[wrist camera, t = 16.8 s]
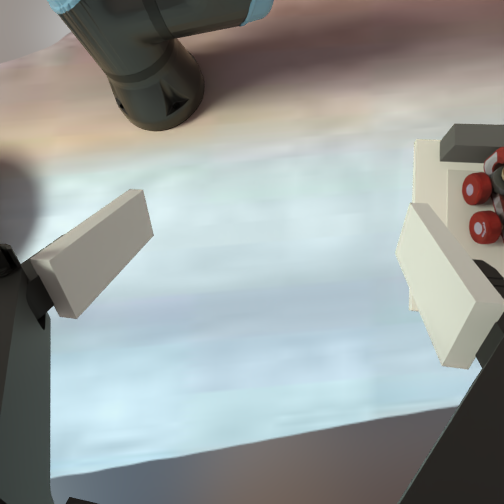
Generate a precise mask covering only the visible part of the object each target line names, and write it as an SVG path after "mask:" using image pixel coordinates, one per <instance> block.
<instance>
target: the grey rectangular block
mask: <svg viewBox="0 0 504 504" xmlns="http://www.w3.org/2000/svg"><path fill="white" fill-rule="evenodd" d="M500 147H504V125H486V124H454V125H453V126H452V128H451V129H450V130H449V131H448V133H447V134H446V135H445V136H444V137H443V139H442V140H441V141H440V161H441V162H463V163H484V162H485V160H486V159H487V158H488V157H489V156H491V155H492V154H493V153H494V152H495V151H496V150H497V149H499V148H500Z"/></svg>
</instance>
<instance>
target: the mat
mask: <svg viewBox="0 0 504 504" xmlns="http://www.w3.org/2000/svg"><path fill="white" fill-rule="evenodd" d="M440 141H441V140H426V139H417V140H416V141H415V143H414V162H413V194H412V203H428V204H429V205H430V207H431V208H432V209H433V211H434V212H435V213H436V214H437V216H438V217H439V218H440V219H441V221H442V222H443V223H444V224H445V226H446V227H447V228H448V229H449V231H450V232H451V233H452V235H453V236H454V237H455V238H456V240H457V241H458V242H459V243H460V245H461V246H462V247H463V248H464V250H465V251H466V252H467V254H468V255H469V256H470V257H471V259H476V260H483V261H485V262H486V263H488V264H489V265H491V266H492V267H494V268H495V269H496V270H497V271H498V272H499V273H500V274H501V275H502V277H503V278H504V242H503V239H502V236H501V235H500V237H499V239H498V240H497V241H496V242H495V243H492V244H478V243H476V242H475V241H474V240H473V239H472V237H471V235H470V231H469V222H470V219H471V217H472V216H473V214H474V213H476V212H478V211H486V210H491V211H493V212H495V210H494V206H493V202H492V199H491V197H490V198H489V199H488V201H487V202H485V203H484V204H480V205H469V204H467V203H466V202H465V200H464V198H463V195H462V185H463V182H464V180H465V178H466V177H467V176H468V175H469V174H472V173H478V172H484V168H483V166H484V163H463V162H441V161H440ZM409 310H411V311H418V312H419V310H418V307H417V305H416V303H415V300H414V298H413V295H412V293H411V291H410V289H409Z"/></svg>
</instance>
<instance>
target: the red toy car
mask: <svg viewBox="0 0 504 504" xmlns="http://www.w3.org/2000/svg"><path fill="white" fill-rule="evenodd" d="M483 168H484V172H478V173H472V174H469V175H468V176H467V177H466V178H465V180H464V182H463V185H462V195H463V198H464V200H465V202H466V203H467V204H469V205H480V204H484V203H485V202H487V201H488V199H489V198H490V197H491V199H492V202H493V206H494V210H495V212H493V211H491V210H486V211H478V212H476V213H474V214H473V216H472V217H471V219H470V222H469V231H470V235H471V237H472V239H473V240H474V241H475V242H476V243H478V244H492V243H495V242H496V241H497V240H498V239H499V237H500V235H501V236H502V239H503V242H504V147H500V148H499V149H497V150H496V151H495V152H494V153H493V154H492V155H491V156H489V157H488V158H487V159H486V160H485V162H484V166H483Z"/></svg>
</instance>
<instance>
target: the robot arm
mask: <svg viewBox="0 0 504 504" xmlns="http://www.w3.org/2000/svg"><path fill="white" fill-rule="evenodd" d="M47 1H48V2H49V4H50V6H51V8H52V9H53V11H54V12H56V13H57V14H58V15H59V16H60V17H61V19H62V20H63V21H64V23H65V24H66V25H67V26H68V28H69V29H70V30H71V31H72V33H73V34H74V35H75V36H76V38H77V39H78V40H79V41H80V43H81V44H82V45H83V46H84V48H85V49H86V50H87V51H88V53H89V54H90V55H91V56H92V58H93V59H94V60H95V61H96V63H97V64H98V65H99V66H100V67H101V69H102V70H103V71H104V73H105V74H106V75H107V78H108V80H109V83H110V86H111V88H112V91H113V94H114V96H115V99H116V102H117V104H118V106H119V108H120V110H121V111H122V112H123V114H124V115H125V116H126V117H127V118H128V119H129V121H130V122H131V123H133V124H134V125H135V126H137V127H139V128H142V129H145V130H150V131H160V130H166V129H169V128H172V127H175V126H177V125H179V124H180V123H182V122H184V121H185V120H186V119H187V118H189V117H190V116H191V115H192V114H193V113H194V111H195V110H196V109H197V107H198V106H199V104H200V102H201V99H202V97H203V93H204V79H203V76H202V73H201V70H200V68H199V65H198V63H197V61H196V60H195V58H194V57H193V56H192V55H191V54H190V53H189V52H188V51H187V50H186V49H185V47H184V46H183V45H182V44H181V43H180V41H179V40H178V39H177V38H180V37H186V36H191V35H196V34H201V33H206V32H211V31H216V30H221V29H226V28H231V27H237V26H244V25H245V24H247V23H249V22H252V21H255V20H259V19H262V18H264V17H265V16H266V15H267V14H268V13H269V12H270V10H271V8H272V5H273V1H274V0H47ZM153 236H154V234H153V230H152V226H151V222H150V217H149V213H148V209H147V205H146V200H145V196H144V192H143V190H136V189H129V190H128V191H126V192H125V193H124V194H122V195H121V196H119V197H118V198H116V199H115V200H113V201H112V202H111V203H109V204H108V205H106V206H105V207H103V208H102V209H101V210H99V211H98V212H96V213H95V214H93V215H92V216H91V217H89V218H88V219H86V220H85V221H83V222H82V223H80V224H79V225H78V226H76V227H75V228H73V229H72V230H70V231H69V232H68V233H66V234H64V235H62V236H61V237H59V238H58V239H56V240H55V241H53V243H51V244H49V245H48V246H46V247H45V248H43V249H42V250H40V251H39V252H38V253H36V254H35V255H33V256H32V257H30V258H29V259H27V260H26V261H25V262H23V263H22V264H20V262H19V260H18V259H17V257H16V255H15V253H14V251H13V250H12V248H11V246H10V245H7V244H0V504H54V502H53V499H52V496H51V491H50V317H49V315H48V313H47V311H48V310H49V309H50V308H51V307H52V306H54V307H55V309H56V311H57V312H58V314H59V316H60V317H66V318H74V319H77V318H78V317H79V316H80V315H81V314H82V313H83V312H84V311H85V310H86V308H87V307H88V306H89V305H90V304H91V303H92V302H93V301H94V300H95V299H96V298H97V297H98V295H99V294H100V293H101V292H102V291H103V290H104V289H105V288H106V287H107V286H108V285H109V283H110V282H111V281H112V280H113V279H114V278H115V277H116V276H117V275H118V274H119V273H120V272H121V270H122V269H123V268H124V267H125V266H126V265H127V264H128V263H129V262H130V261H131V260H132V258H133V257H134V256H135V255H136V254H137V253H138V252H139V251H140V250H141V249H142V248H143V246H144V245H145V244H146V243H147V242H148V241H149V240H150V239H151V238H152V237H153ZM395 255H396V257H397V259H398V262H399V264H400V267H401V269H402V271H403V274H404V276H405V279H406V281H407V283H408V286H409V288H410V291H411V293H412V295H413V298H414V300H415V303H416V305H417V307H418V310H419V312H420V315H421V317H422V319H423V322H424V324H425V327H426V329H427V331H428V334H429V336H430V339H431V341H432V343H433V346H434V348H435V351H436V353H437V355H438V358H439V360H440V363H441V365H442V366H446V367H454V368H462V369H469V367H470V366H471V364H472V362H473V361H474V359H475V358H476V357H477V359H478V361H479V363H480V365H481V367H482V370H481V371H480V373H479V374H478V376H477V377H476V379H475V380H474V382H473V383H472V385H471V387H470V388H469V390H468V392H467V393H466V395H465V397H464V398H463V400H462V401H461V403H460V405H459V406H458V408H457V409H456V411H455V413H454V414H453V416H452V417H451V419H450V421H449V422H448V424H447V425H446V427H445V428H444V430H443V432H442V433H441V435H440V436H439V438H438V440H437V441H436V443H435V444H434V446H433V448H432V449H431V451H430V452H429V454H428V456H427V457H426V459H425V460H424V462H423V463H422V465H421V467H420V468H419V470H418V472H417V473H416V475H415V476H414V478H413V479H412V481H411V483H410V484H409V486H408V487H407V489H406V491H405V492H404V494H403V495H402V497H401V499H400V500H399V502H398V503H397V504H504V278H503V277H502V275H501V274H500V273H499V272H498V271H497V270H496V269H495V268H494V267H492V266H491V265H489V264H488V263H486V262H485V261H483V260H476V259H471V257H470V256H469V255H468V254H467V252H466V251H465V250H464V248H463V247H462V246H461V245H460V243H459V242H458V241H457V240H456V238H455V237H454V236H453V235H452V233H451V232H450V231H449V229H448V228H447V227H446V226H445V224H444V223H443V222H442V221H441V219H440V218H439V217H438V216H437V214H436V213H435V212H434V211H433V209H432V208H431V207H430V205H429V204H428V203H410V204H409V207H408V210H407V214H406V217H405V221H404V224H403V228H402V231H401V234H400V238H399V241H398V245H397V248H396V251H395ZM66 504H97V503H93V502H89V501H84V500H80V499H76V498H72V497H69V499H68V501H67V502H66Z"/></svg>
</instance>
